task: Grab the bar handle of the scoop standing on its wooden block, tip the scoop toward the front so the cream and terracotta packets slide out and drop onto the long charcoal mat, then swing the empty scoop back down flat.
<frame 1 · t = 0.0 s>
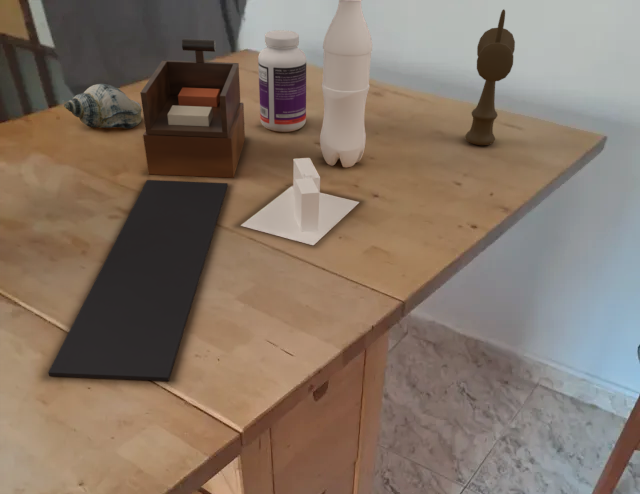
scoop: (193, 85, 103), point 10 cm above the table, hinge at -0.1°, touching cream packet, terracotta packet
napkin holder: (301, 214, 97), on the table
terracotta packet: (199, 102, 109), point 7 cm above the table, touching scoop
kendama: (479, 143, 118), on the table
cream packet: (191, 121, 103), point 7 cm above the table, touching scoop
pill bottle: (283, 126, 121), on the table
seashell: (107, 126, 119), on the table
stand: (199, 155, 110), on the table
mat: (156, 262, 85), on the table
water bottle: (341, 162, 110), on the table
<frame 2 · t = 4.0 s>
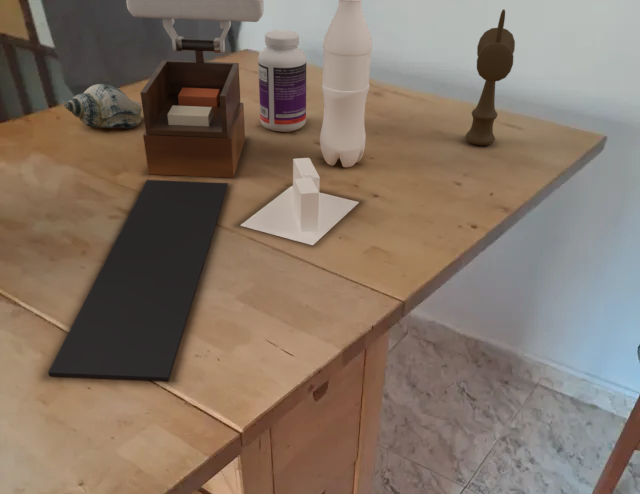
hand: (199, 51, 107), 13 cm above the table, tool pointing down, fingers closed on scoop, 5 cm apart
scoop: (193, 85, 103), point 10 cm above the table, hinge at -0.1°, touching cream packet, gripper, terracotta packet
everything else where it was.
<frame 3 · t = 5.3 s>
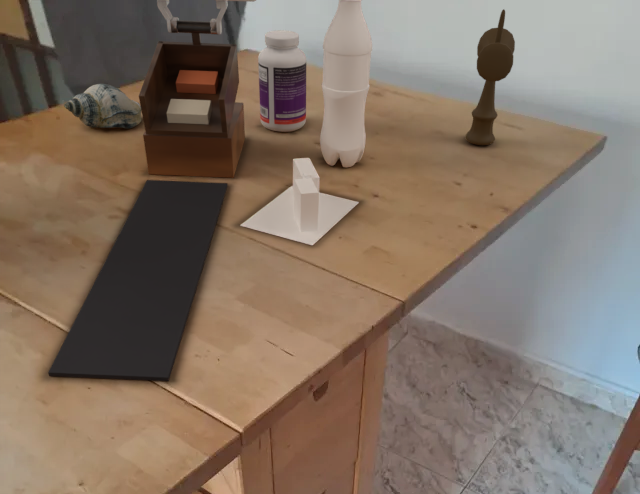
hand: (195, 32, 103), 16 cm above the table, tool pointing down, fingers closed on scoop, 5 cm apart
scoop: (191, 76, 101), point 12 cm above the table, hinge at 11.2°, touching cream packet, gripper, terracotta packet
terracotta packet: (198, 86, 107), point 9 cm above the table, tilted 11°, touching scoop
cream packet: (190, 116, 102), point 8 cm above the table, tilted 11°, touching scoop
everything else where it was.
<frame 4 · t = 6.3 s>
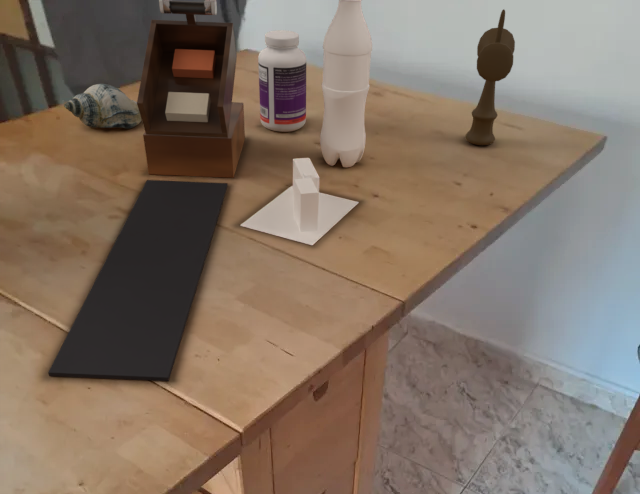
hand: (189, 13, 98), 20 cm above the table, tool pointing down, fingers closed on scoop, 5 cm apart
scoop: (187, 68, 99), point 14 cm above the table, hinge at 26.5°, touching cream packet, gripper, terracotta packet
terracotta packet: (194, 67, 104), point 12 cm above the table, tilted 26°, touching scoop
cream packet: (189, 111, 101), point 8 cm above the table, tilted 26°, touching scoop
everything else where it was.
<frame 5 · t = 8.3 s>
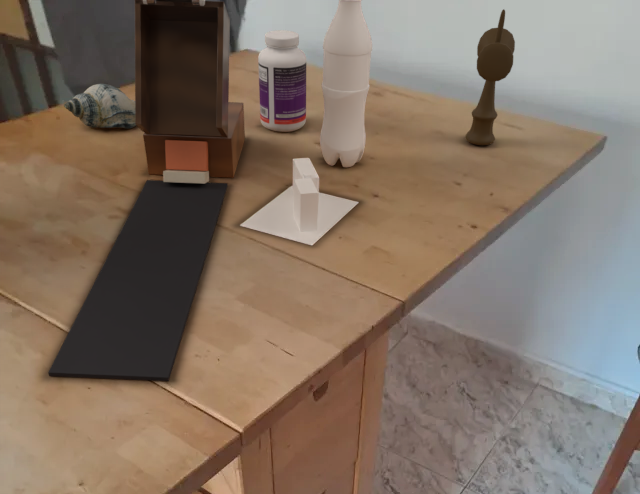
hand: (175, 4, 89), 23 cm above the table, tool pointing down, fingers closed on scoop, 5 cm apart
scoop: (180, 65, 94), point 15 cm above the table, hinge at 57.2°, touching gripper
terracotta packet: (188, 155, 102), point 3 cm above the table, tilted 67°, touching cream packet, stand
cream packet: (186, 170, 101), point 2 cm above the table, tilted 162°, touching mat, terracotta packet
everything else where it was.
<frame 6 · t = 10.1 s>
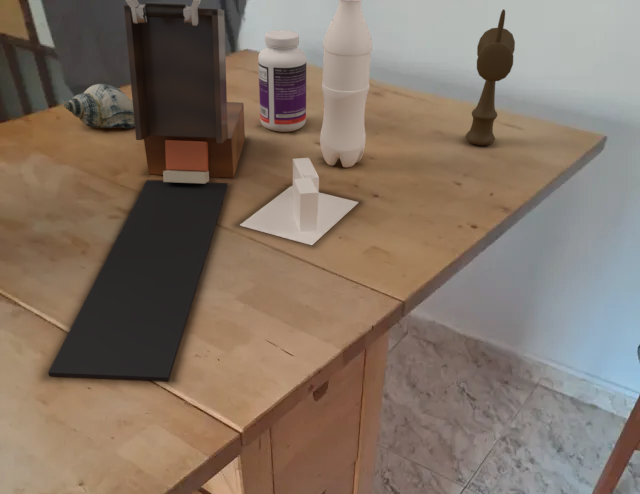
hand: (166, 23, 85), 22 cm above the table, tool pointing down, fingers closed on scoop, 5 cm apart
scoop: (176, 75, 92), point 15 cm above the table, hinge at 77.1°, touching gripper
everything else where it was.
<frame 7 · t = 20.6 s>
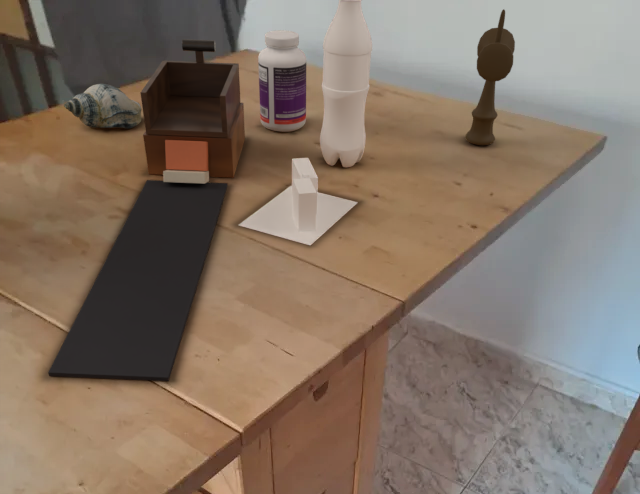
scoop: (193, 85, 103), point 10 cm above the table, hinge at -0.4°
everything else where it was.
at the end: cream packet inside the target area on the mat (21.8 cm from its centre), point 2.1 cm above the mat's base; terracotta packet inside the target area on the mat (24.0 cm from its centre), point 3.4 cm above the mat's base; scoop at +0° (first picture: +0°) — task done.
